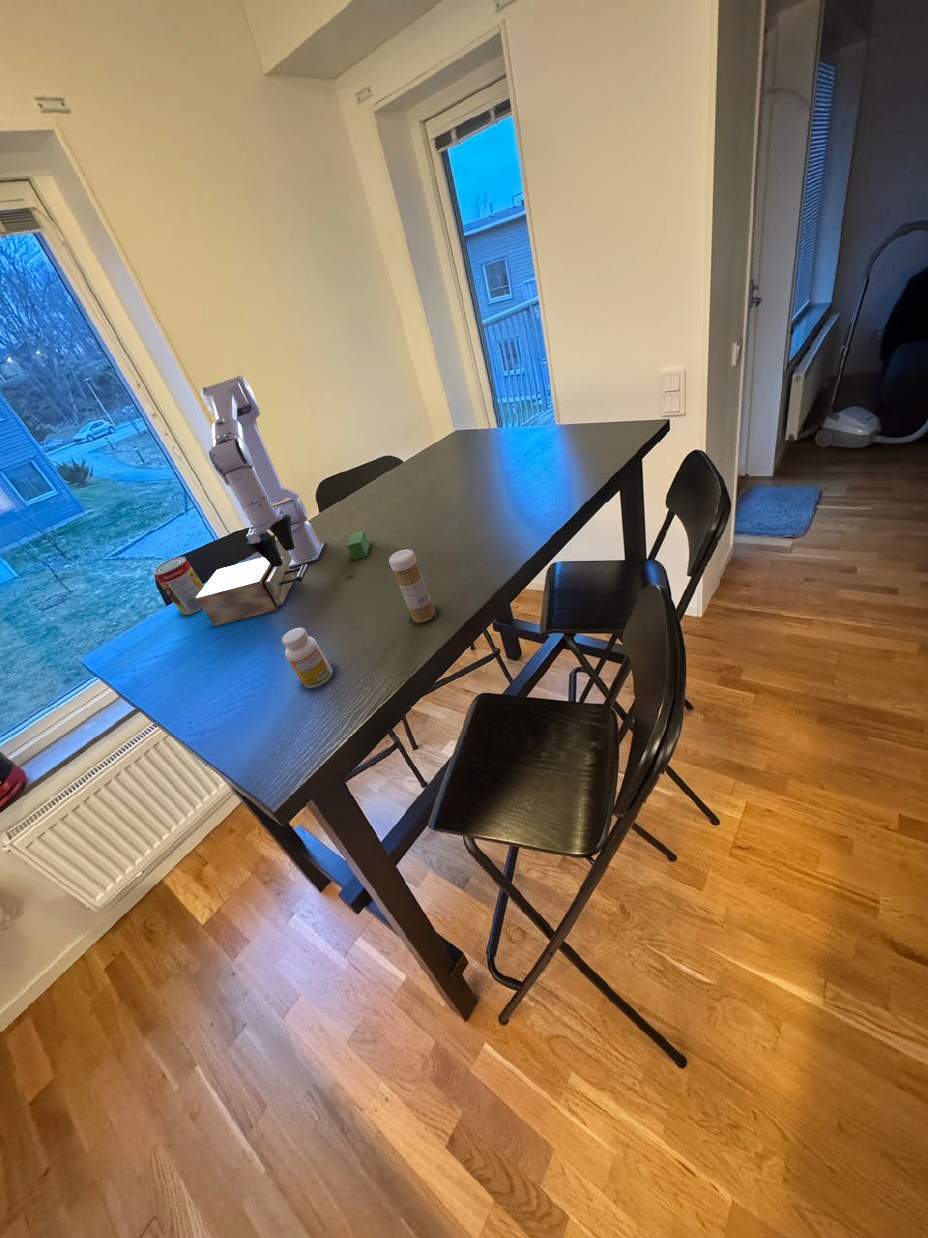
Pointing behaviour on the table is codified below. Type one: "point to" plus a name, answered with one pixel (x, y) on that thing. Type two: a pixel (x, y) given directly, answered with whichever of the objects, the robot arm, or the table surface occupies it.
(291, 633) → the supplement bottle
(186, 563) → the canned food
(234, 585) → the cabinet
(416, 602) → the sprinkles bottle
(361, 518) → the table surface
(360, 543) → the green block
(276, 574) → the drawer
